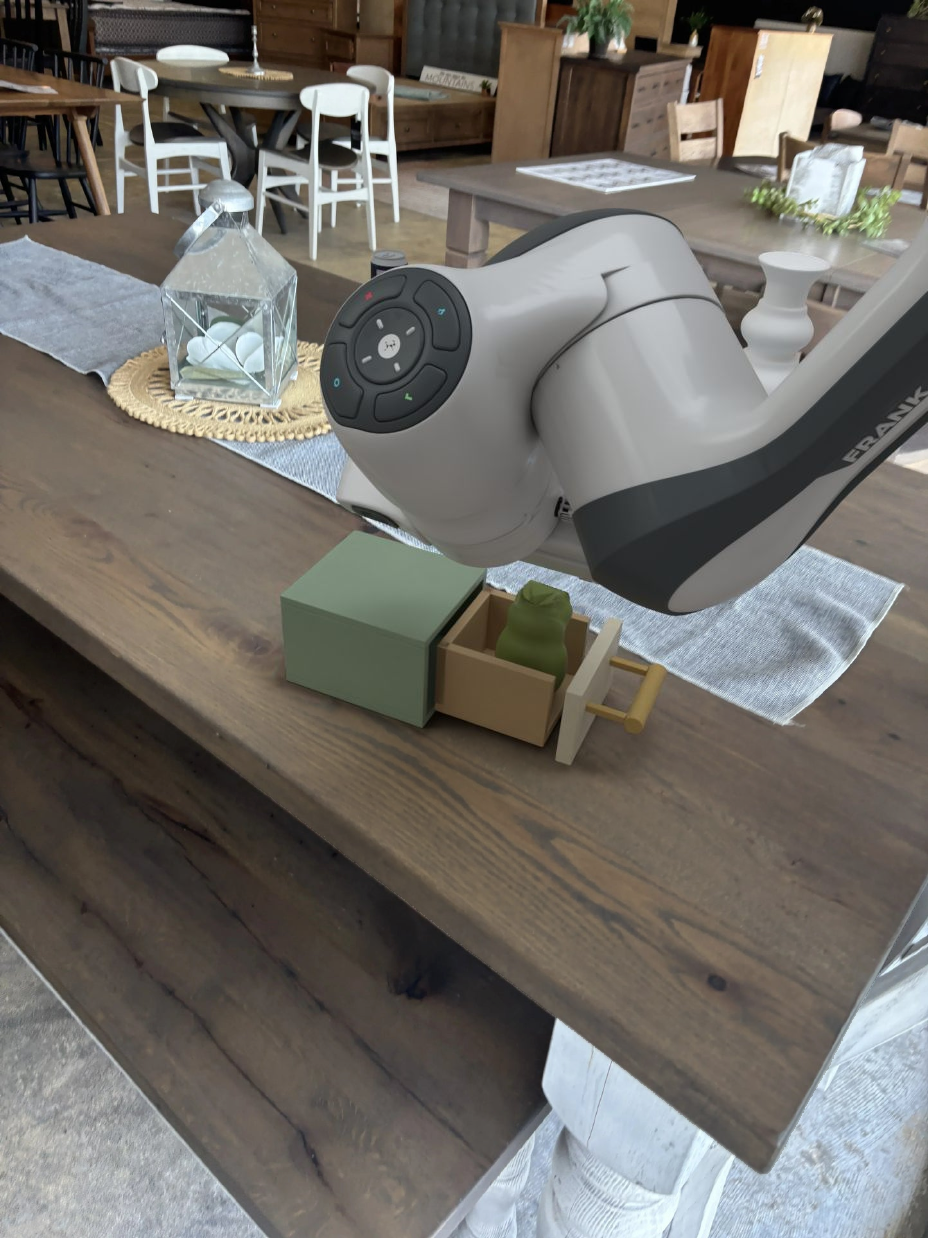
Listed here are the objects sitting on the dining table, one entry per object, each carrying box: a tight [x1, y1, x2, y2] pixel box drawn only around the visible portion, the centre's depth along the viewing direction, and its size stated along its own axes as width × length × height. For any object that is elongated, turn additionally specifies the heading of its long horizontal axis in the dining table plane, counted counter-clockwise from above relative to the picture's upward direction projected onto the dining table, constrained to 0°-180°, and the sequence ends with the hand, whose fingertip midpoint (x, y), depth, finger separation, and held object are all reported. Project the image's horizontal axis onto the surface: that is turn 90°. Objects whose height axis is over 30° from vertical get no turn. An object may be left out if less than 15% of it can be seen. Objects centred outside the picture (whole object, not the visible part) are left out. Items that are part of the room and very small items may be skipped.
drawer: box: [435, 586, 668, 766], centre depth 69 cm, size 16×10×7 cm, turn 66°
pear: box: [495, 579, 574, 694], centre depth 68 cm, size 6×5×10 cm
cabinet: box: [279, 529, 488, 729], centre depth 74 cm, size 12×11×8 cm
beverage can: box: [370, 249, 409, 280], centre depth 141 cm, size 6×6×12 cm
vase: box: [740, 250, 831, 396], centre depth 103 cm, size 11×11×25 cm
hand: (529, 553), depth 64 cm, fingers open, 8 cm apart
